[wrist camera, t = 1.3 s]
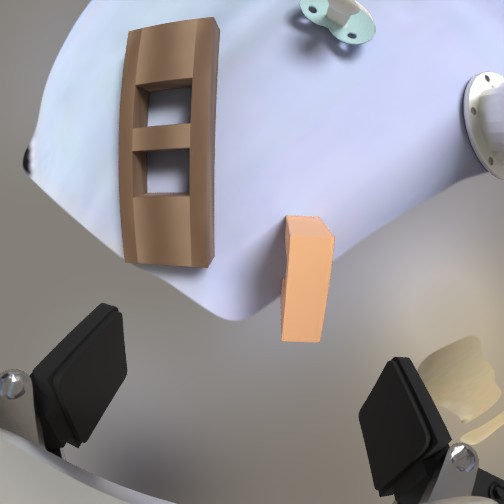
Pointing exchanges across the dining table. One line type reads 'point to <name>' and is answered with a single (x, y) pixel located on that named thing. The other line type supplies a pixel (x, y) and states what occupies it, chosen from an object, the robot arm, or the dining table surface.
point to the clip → (305, 278)
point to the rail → (169, 143)
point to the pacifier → (341, 19)
